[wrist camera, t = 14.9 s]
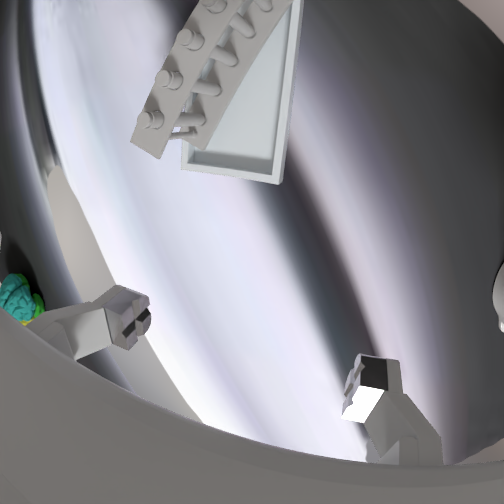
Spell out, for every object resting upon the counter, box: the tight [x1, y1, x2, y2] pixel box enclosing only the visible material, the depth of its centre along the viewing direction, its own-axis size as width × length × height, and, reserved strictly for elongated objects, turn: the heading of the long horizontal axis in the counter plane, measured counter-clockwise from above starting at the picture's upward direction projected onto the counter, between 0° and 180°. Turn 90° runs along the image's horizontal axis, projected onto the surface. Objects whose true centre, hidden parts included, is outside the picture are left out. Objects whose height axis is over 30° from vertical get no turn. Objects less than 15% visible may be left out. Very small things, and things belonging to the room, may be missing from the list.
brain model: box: [0, 274, 45, 326], centre depth 67 cm, size 24×19×15 cm
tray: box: [181, 0, 304, 185], centre depth 32 cm, size 14×33×2 cm, turn 174°
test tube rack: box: [130, 0, 294, 159], centre depth 26 cm, size 25×4×13 cm, turn 151°
